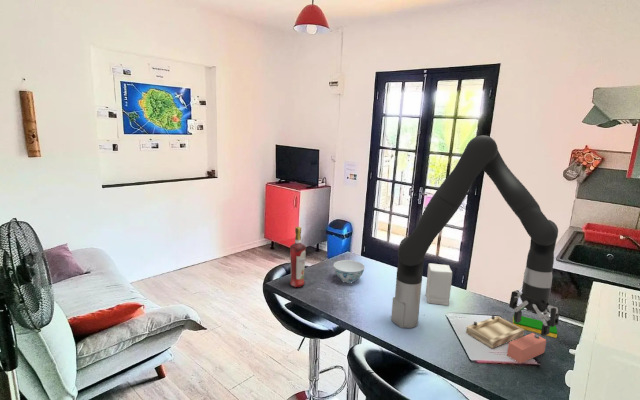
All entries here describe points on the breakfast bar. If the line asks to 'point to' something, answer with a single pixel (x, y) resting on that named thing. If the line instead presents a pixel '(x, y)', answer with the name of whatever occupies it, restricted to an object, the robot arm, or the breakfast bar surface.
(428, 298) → the supplement box
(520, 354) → the salmon pink brick
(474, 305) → the breakfast bar surface
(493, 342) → the wooden tray
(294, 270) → the liquor
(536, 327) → the dish sponge
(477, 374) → the breakfast bar surface
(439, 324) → the breakfast bar surface
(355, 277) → the chinaware
